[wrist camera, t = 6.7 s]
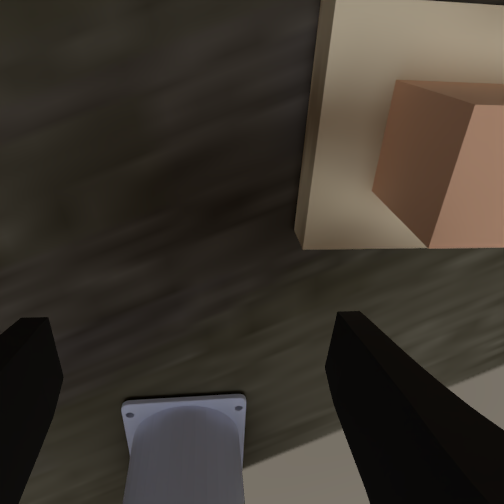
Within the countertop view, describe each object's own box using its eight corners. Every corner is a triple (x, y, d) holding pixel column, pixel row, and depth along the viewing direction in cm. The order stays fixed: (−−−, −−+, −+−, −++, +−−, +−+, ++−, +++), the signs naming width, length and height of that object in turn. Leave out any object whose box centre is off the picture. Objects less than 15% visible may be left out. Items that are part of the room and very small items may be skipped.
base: (474, 228, 21) (497, 247, 19) (293, 229, 20) (302, 249, 18) (557, 12, 16) (599, 11, 14) (321, -3, 15) (336, -6, 13)
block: (466, 191, 18) (551, 246, 13) (371, 190, 17) (428, 248, 13) (504, 84, 15) (622, 109, 11) (396, 79, 15) (474, 104, 10)
